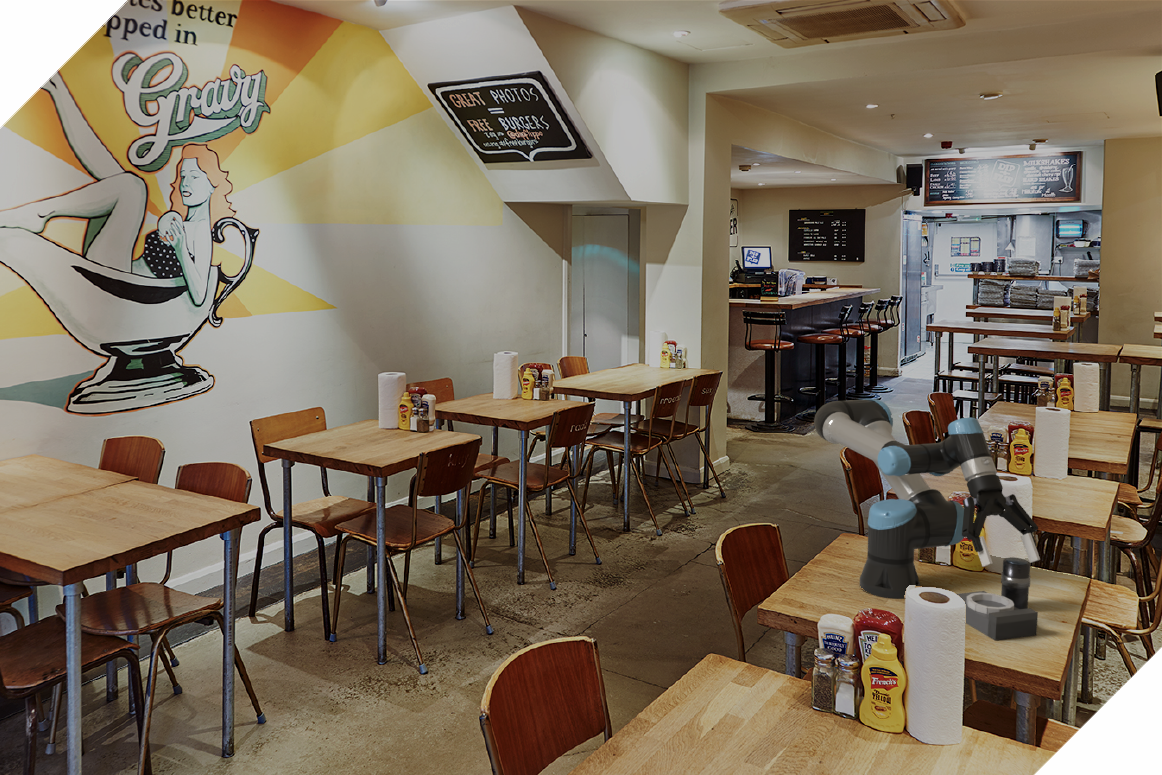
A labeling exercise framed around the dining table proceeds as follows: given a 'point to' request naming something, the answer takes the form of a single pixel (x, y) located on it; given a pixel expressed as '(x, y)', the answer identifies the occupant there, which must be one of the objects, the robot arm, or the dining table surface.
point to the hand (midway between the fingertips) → (1011, 563)
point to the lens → (1016, 581)
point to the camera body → (998, 616)
